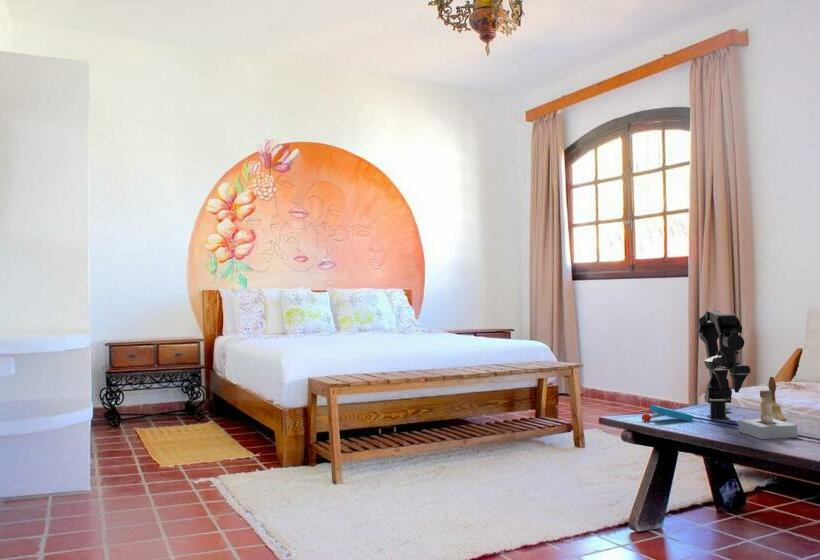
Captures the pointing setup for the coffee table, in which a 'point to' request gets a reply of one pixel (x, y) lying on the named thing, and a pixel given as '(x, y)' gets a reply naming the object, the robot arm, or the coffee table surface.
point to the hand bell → (775, 407)
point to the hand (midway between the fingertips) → (729, 390)
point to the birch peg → (766, 406)
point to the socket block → (767, 429)
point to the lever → (666, 413)
